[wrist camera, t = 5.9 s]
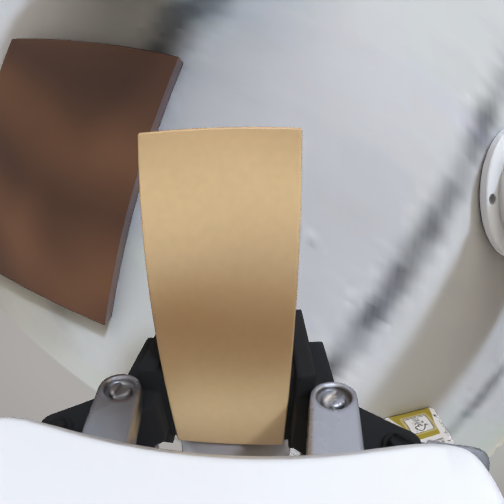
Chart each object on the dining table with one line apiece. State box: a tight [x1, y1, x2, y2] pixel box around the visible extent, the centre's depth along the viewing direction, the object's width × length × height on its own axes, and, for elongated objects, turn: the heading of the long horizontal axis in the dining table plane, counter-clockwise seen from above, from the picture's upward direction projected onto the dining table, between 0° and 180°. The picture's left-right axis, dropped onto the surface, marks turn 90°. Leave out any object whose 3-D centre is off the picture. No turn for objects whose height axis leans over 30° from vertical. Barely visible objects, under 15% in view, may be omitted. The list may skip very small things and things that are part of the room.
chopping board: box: [0, 39, 183, 325], centre depth 19 cm, size 20×16×2 cm
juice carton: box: [385, 407, 455, 444], centre depth 19 cm, size 8×9×19 cm
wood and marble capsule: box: [138, 127, 302, 456], centre depth 11 cm, size 20×4×4 cm, turn 0°
